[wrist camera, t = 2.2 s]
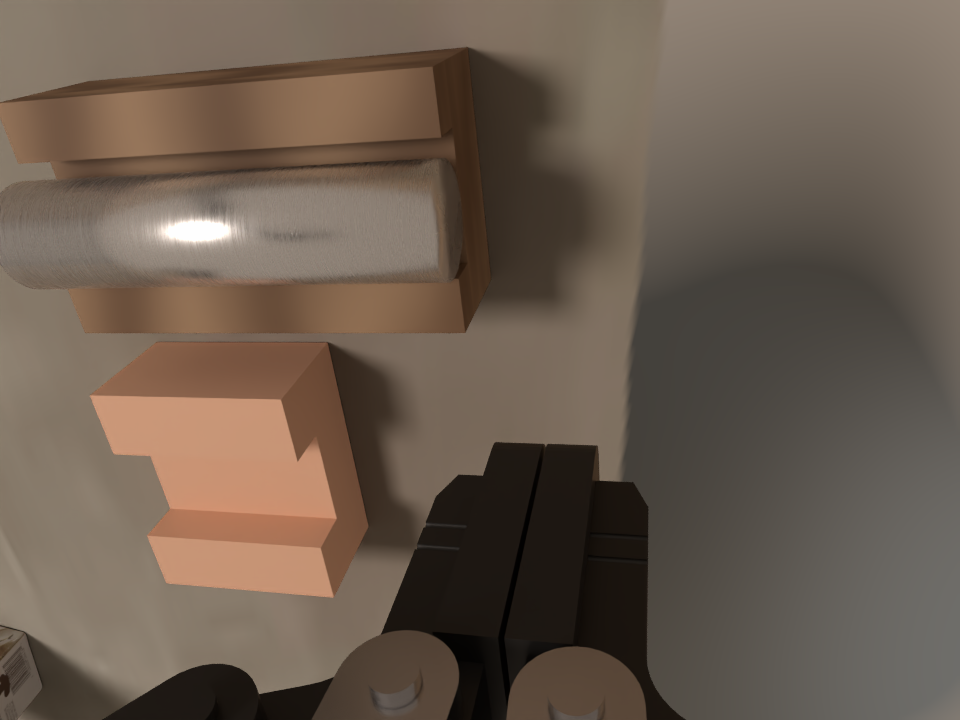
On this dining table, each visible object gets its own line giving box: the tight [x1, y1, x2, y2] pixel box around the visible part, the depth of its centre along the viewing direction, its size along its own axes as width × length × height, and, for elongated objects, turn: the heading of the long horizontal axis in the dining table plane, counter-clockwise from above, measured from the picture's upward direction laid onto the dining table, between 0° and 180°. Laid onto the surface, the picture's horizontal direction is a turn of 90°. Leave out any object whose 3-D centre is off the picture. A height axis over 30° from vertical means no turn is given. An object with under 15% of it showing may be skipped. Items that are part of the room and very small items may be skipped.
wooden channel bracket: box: [0, 47, 491, 333], centre depth 28 cm, size 16×9×5 cm, turn 96°
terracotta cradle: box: [90, 342, 369, 598], centre depth 35 cm, size 9×11×5 cm
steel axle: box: [0, 158, 463, 289], centre depth 26 cm, size 16×4×4 cm, turn 96°
